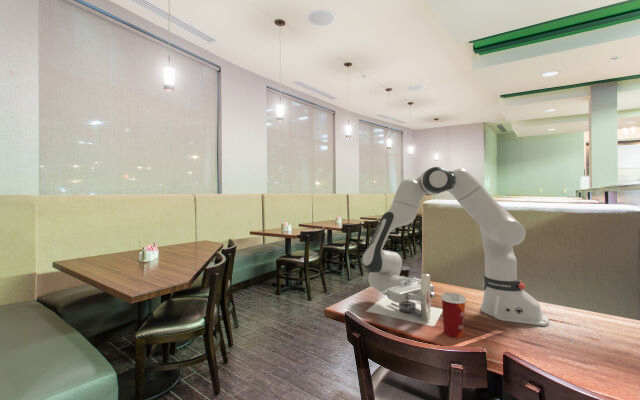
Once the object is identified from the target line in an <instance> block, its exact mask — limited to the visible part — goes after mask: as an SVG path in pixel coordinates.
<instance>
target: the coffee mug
mask: <svg viewBox="0 0 640 400" xmlns="http://www.w3.org/2000/svg"><path fill="white" fill-rule="evenodd" d="M409 275H410V267H408V266H405V265H402V269H401V273H400V276H403V277H410V276H409Z"/></svg>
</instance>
